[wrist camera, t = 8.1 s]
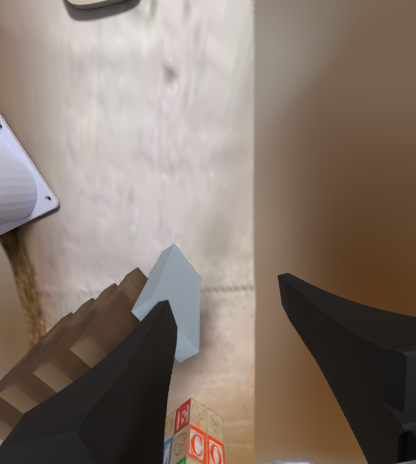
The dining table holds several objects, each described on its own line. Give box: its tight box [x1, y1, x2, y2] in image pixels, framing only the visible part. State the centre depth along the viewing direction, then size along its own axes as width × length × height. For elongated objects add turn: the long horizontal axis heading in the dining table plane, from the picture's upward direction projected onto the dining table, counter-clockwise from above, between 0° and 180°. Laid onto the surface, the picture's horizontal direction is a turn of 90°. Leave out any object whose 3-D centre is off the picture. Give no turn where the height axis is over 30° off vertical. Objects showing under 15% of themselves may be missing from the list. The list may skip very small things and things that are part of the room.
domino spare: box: [131, 244, 201, 363], centre depth 17 cm, size 2×5×10 cm, turn 34°
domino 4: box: [70, 268, 148, 368], centre depth 18 cm, size 2×5×10 cm, turn 34°
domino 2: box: [0, 298, 95, 414], centre depth 19 cm, size 2×5×10 cm, turn 34°
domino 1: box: [0, 312, 73, 441], centre depth 19 cm, size 2×5×10 cm, turn 34°
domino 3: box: [33, 283, 118, 393], centre depth 19 cm, size 2×5×10 cm, turn 34°
